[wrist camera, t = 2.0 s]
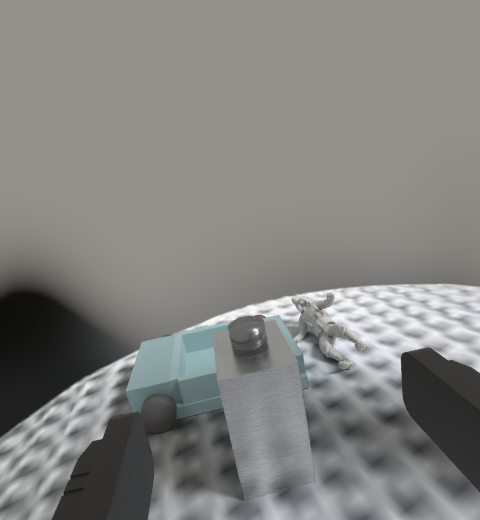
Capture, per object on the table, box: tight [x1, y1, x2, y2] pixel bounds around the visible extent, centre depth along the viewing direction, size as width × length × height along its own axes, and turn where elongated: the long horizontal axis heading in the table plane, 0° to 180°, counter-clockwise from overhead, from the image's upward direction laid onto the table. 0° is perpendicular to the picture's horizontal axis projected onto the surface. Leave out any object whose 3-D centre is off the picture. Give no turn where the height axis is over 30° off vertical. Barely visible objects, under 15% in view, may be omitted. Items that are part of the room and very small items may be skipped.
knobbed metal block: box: [212, 316, 316, 501], centre depth 23 cm, size 5×6×11 cm
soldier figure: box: [292, 293, 370, 370], centre depth 37 cm, size 8×5×12 cm
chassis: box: [126, 315, 309, 433], centre depth 34 cm, size 16×12×4 cm
